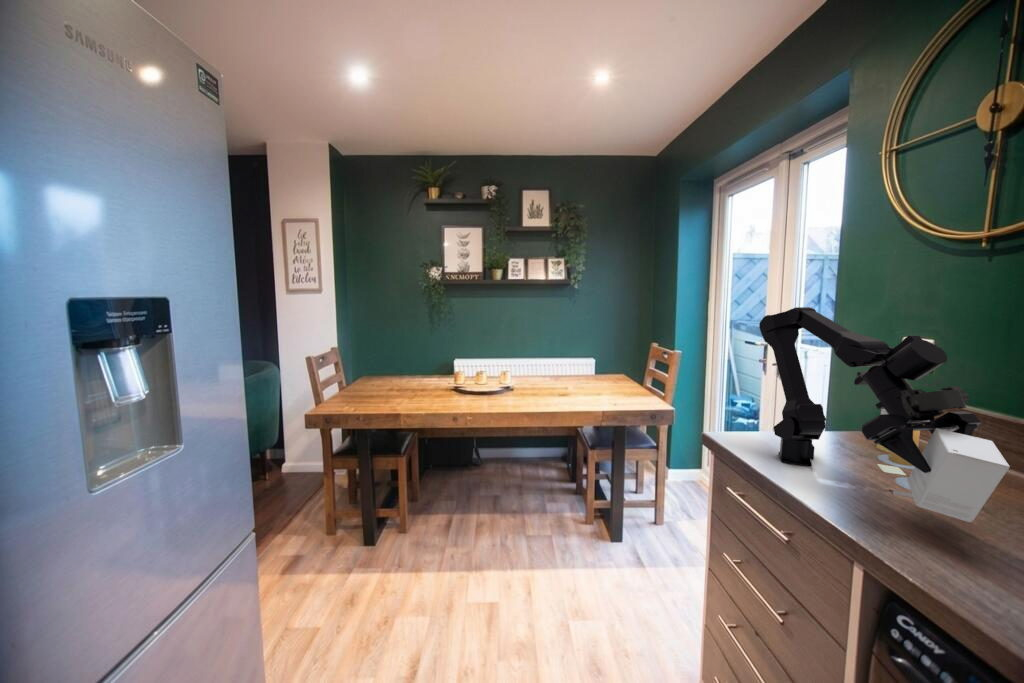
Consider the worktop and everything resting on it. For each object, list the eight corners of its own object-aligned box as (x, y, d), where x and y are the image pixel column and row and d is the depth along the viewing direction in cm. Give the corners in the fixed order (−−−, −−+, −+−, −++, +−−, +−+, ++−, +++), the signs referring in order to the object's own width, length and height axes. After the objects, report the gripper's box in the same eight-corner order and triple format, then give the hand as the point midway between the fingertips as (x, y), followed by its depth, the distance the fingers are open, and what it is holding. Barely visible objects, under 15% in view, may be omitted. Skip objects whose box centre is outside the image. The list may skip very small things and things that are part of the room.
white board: (893, 495, 86) (894, 489, 86) (859, 454, 108) (859, 449, 108) (972, 509, 81) (973, 502, 81) (919, 463, 102) (920, 458, 102)
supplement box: (973, 524, 68) (1012, 467, 62) (914, 506, 71) (946, 451, 66) (959, 494, 73) (994, 440, 68) (905, 479, 77) (934, 426, 71)
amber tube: (892, 463, 99) (897, 415, 98) (884, 456, 104) (889, 410, 102) (920, 467, 97) (926, 418, 95) (911, 459, 101) (917, 412, 100)
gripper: (883, 371, 72) (947, 455, 63) (975, 369, 74) (1050, 450, 65) (839, 402, 81) (889, 479, 72) (922, 399, 83) (982, 474, 73)
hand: (952, 470), depth 70 cm, fingers closed on supplement box, 9 cm apart
